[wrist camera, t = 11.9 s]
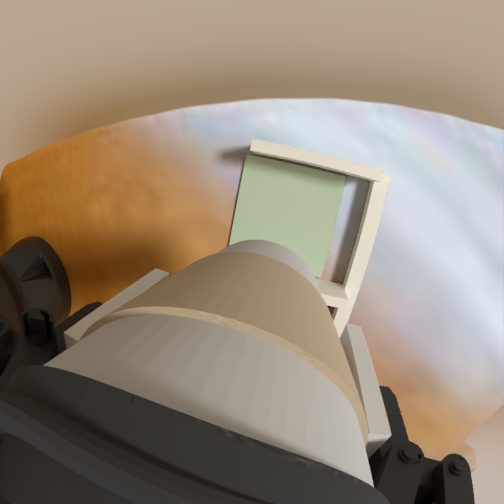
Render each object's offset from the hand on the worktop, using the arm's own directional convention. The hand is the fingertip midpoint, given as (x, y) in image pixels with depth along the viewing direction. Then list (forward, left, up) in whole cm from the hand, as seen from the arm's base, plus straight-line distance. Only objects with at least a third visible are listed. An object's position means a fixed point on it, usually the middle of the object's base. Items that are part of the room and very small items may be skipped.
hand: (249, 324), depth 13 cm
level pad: (0, +3, -17) cm, 17 cm away
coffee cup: (0, 0, -3) cm, 3 cm away
